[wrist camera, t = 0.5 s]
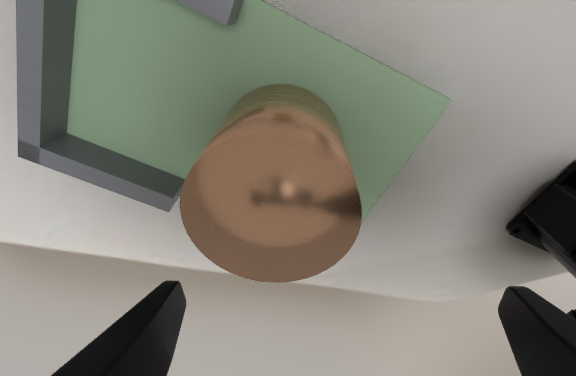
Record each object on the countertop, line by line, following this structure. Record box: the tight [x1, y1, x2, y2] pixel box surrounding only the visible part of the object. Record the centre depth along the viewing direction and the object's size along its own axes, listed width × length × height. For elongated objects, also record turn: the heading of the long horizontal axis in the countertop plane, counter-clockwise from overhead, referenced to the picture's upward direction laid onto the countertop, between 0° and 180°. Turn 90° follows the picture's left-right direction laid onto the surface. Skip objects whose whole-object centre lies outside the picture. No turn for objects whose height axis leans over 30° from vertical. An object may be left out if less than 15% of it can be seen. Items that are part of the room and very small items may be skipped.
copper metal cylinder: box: [180, 84, 362, 282], centre depth 16 cm, size 8×8×8 cm
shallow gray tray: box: [16, 0, 243, 212], centre depth 17 cm, size 9×13×2 cm
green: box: [67, 0, 451, 222], centre depth 19 cm, size 22×14×1 cm, turn 66°
